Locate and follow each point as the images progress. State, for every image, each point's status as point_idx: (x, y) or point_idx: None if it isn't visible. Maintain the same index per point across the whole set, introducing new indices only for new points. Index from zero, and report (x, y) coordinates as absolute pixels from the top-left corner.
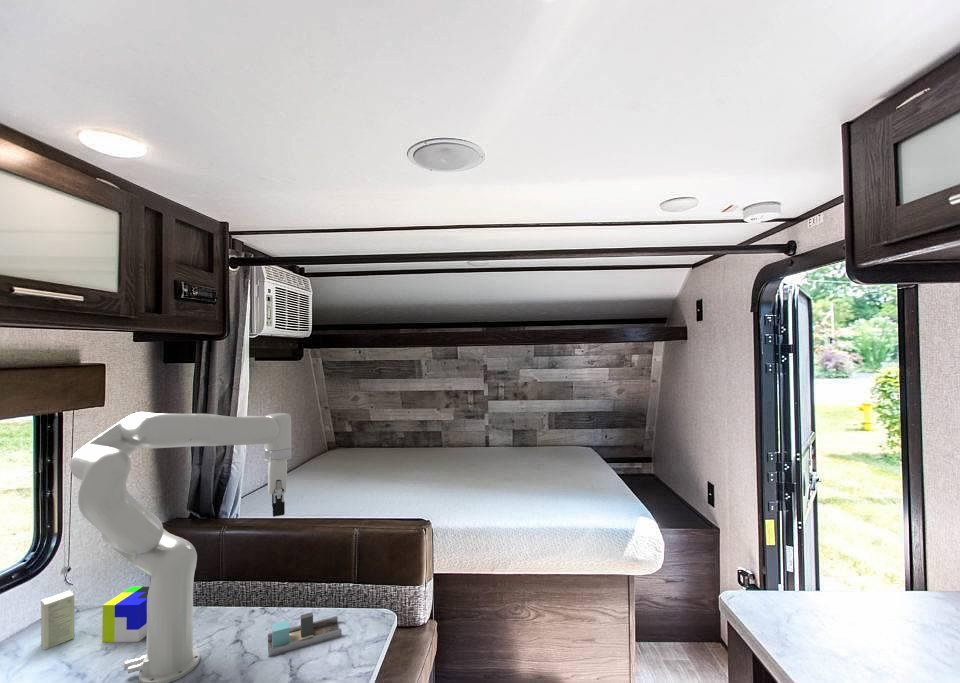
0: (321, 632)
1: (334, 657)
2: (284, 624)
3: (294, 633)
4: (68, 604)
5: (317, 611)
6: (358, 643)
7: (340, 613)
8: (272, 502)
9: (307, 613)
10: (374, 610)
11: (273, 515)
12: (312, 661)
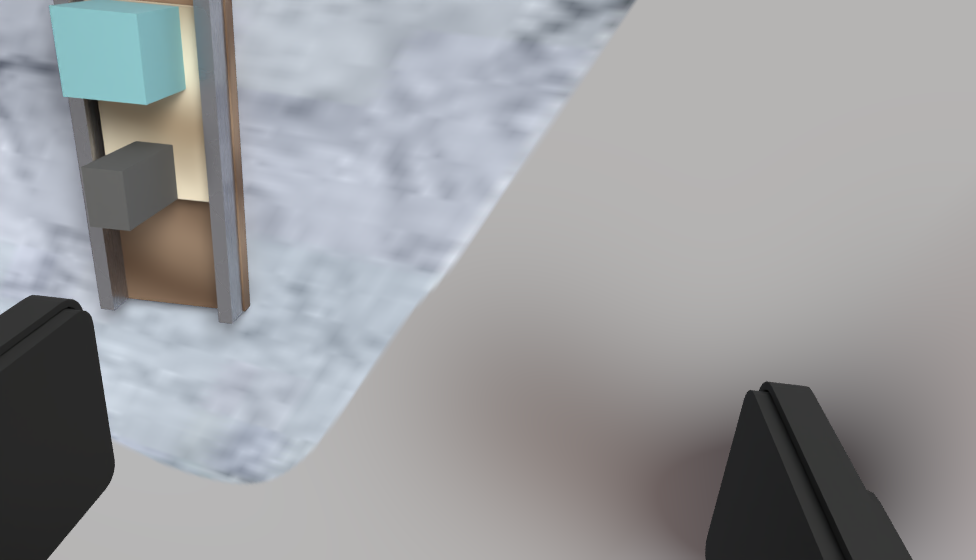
0: (180, 231)
1: (6, 235)
2: (105, 77)
3: (188, 118)
4: None
5: (414, 257)
6: None
7: (338, 340)
8: (803, 444)
9: (126, 206)
10: (291, 459)
11: (33, 310)
12: (6, 152)
